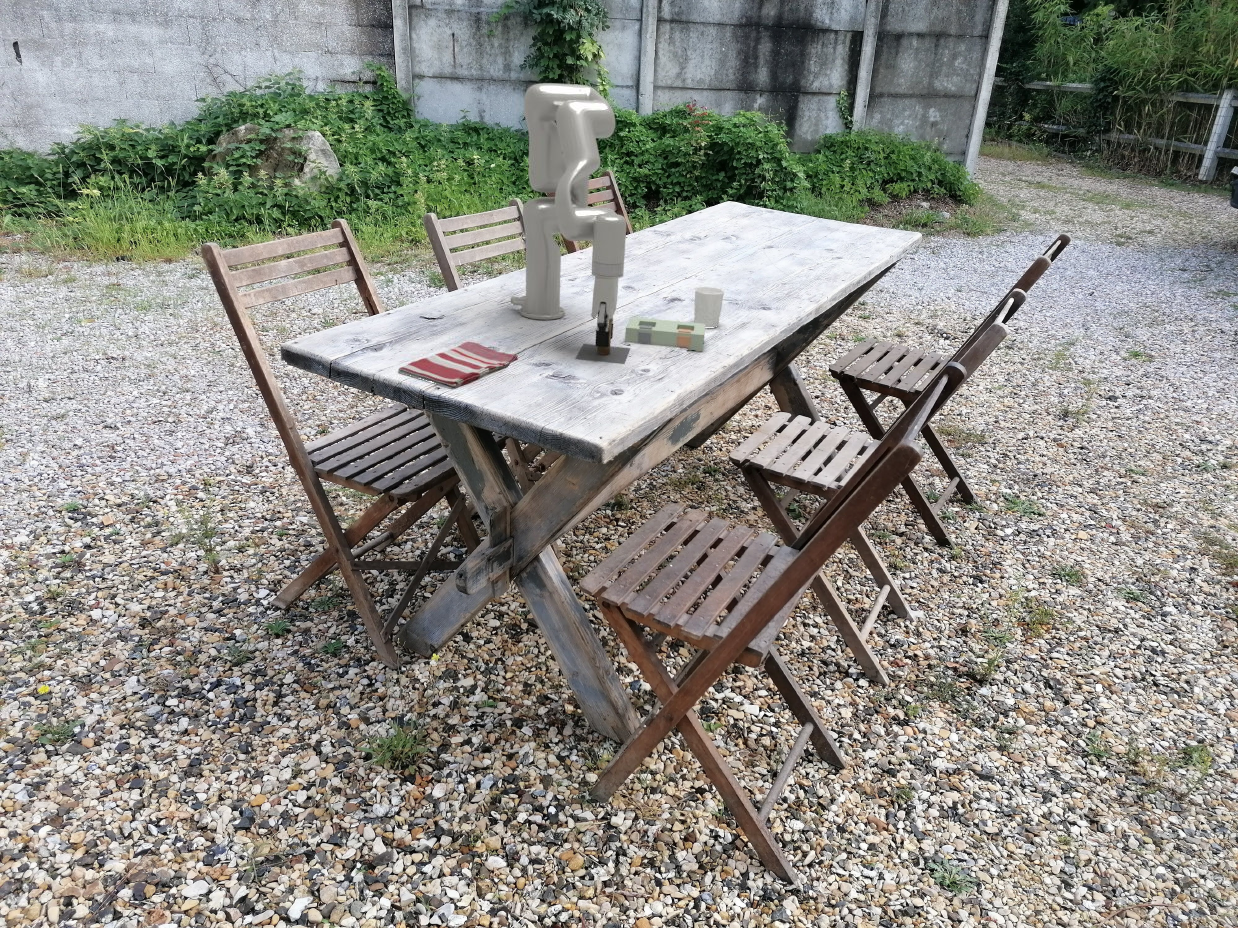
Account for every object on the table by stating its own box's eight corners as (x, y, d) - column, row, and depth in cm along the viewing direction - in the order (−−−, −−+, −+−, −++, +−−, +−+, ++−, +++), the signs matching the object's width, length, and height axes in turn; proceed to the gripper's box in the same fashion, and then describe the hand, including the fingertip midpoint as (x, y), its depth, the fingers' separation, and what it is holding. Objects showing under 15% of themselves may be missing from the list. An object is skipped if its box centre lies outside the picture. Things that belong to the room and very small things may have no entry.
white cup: (697, 330, 230) (701, 294, 226) (688, 321, 237) (691, 286, 233) (724, 329, 232) (728, 294, 228) (713, 321, 239) (717, 286, 235)
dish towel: (520, 364, 199) (520, 353, 198) (453, 392, 181) (453, 380, 180) (466, 349, 207) (465, 338, 206) (396, 374, 188) (396, 363, 187)
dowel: (595, 354, 204) (598, 315, 200) (597, 350, 207) (600, 311, 203) (608, 356, 204) (611, 316, 199) (610, 352, 207) (613, 312, 202)
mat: (574, 362, 201) (575, 359, 201) (583, 346, 212) (583, 343, 211) (624, 367, 200) (624, 363, 200) (630, 351, 211) (630, 348, 210)
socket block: (624, 344, 215) (625, 326, 213) (629, 333, 224) (630, 315, 222) (702, 352, 213) (704, 334, 211) (703, 340, 222) (705, 322, 220)
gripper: (597, 259, 204) (594, 330, 212) (585, 275, 189) (582, 352, 197) (628, 262, 203) (623, 333, 212) (618, 278, 188) (614, 355, 196)
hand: (604, 341), depth 204 cm, fingers open, 5 cm apart
